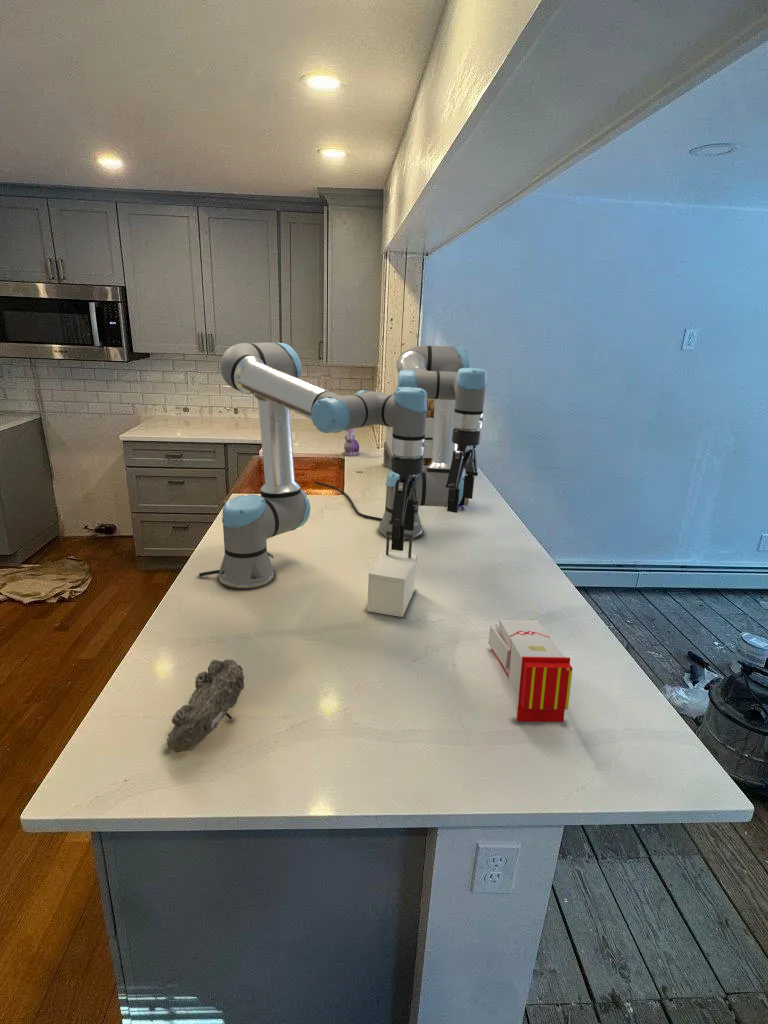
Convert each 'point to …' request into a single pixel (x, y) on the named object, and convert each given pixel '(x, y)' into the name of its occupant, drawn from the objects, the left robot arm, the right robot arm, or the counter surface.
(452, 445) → the right robot arm
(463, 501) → the figurine character
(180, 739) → the fossil
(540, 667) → the toy
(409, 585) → the chest
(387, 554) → the lid
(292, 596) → the counter surface
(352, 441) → the figurine
